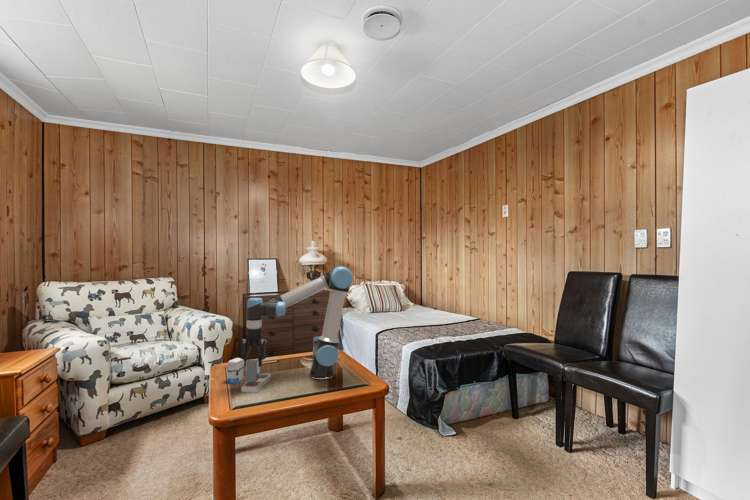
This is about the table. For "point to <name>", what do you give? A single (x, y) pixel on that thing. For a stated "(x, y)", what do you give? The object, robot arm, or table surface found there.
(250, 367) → the grey rectangular block
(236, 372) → the ink box
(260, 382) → the white piece
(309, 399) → the table surface
